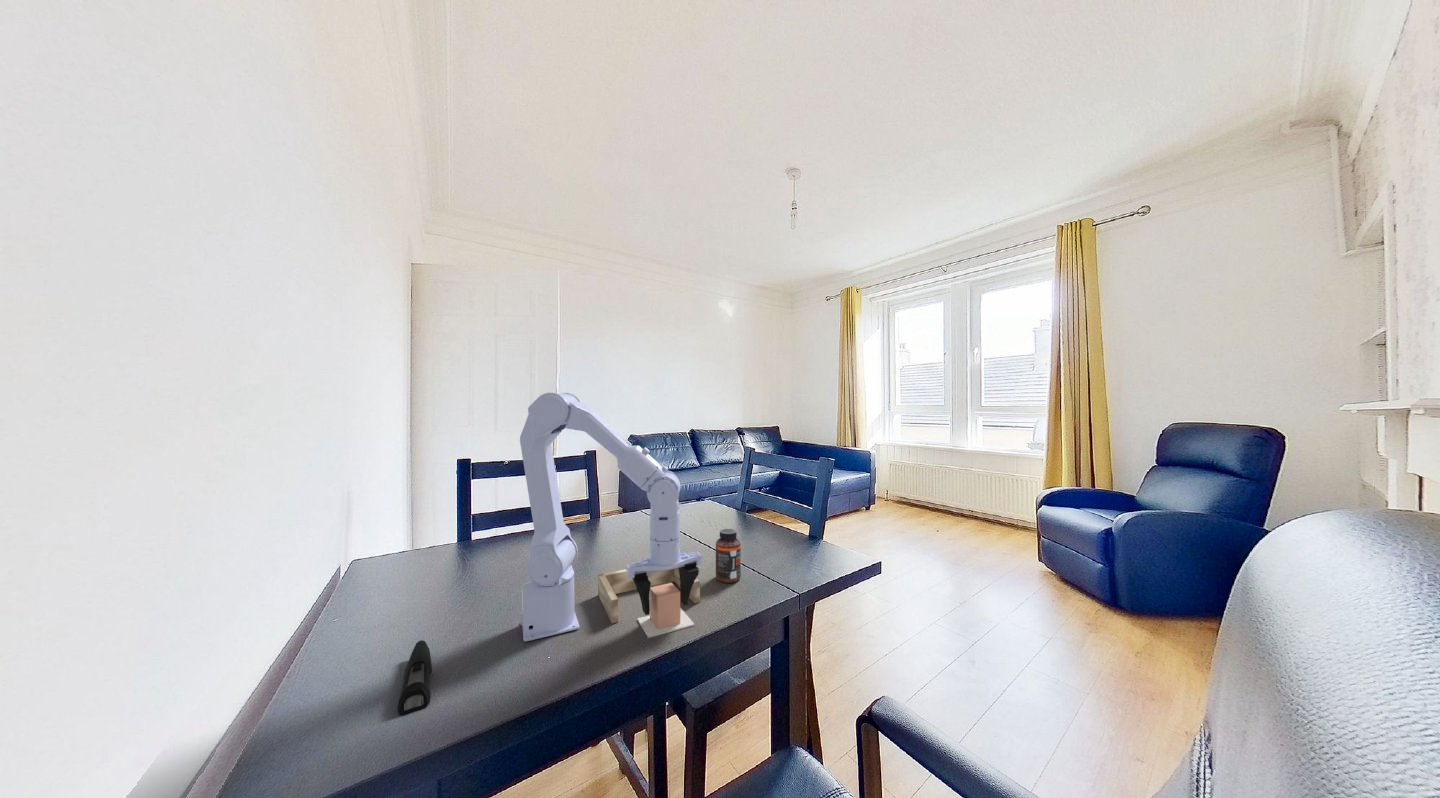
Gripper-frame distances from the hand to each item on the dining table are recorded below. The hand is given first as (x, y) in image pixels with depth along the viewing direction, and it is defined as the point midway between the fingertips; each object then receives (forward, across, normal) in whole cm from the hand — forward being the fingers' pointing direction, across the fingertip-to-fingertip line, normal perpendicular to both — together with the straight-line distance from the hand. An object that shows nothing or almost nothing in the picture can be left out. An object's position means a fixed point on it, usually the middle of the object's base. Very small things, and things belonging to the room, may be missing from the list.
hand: (665, 607), depth 82 cm
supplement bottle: (+3, -20, -12) cm, 24 cm away
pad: (+3, 0, 0) cm, 3 cm away
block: (+3, 0, 0) cm, 3 cm away
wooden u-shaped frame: (+3, 0, -11) cm, 11 cm away
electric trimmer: (+3, +40, -1) cm, 40 cm away
